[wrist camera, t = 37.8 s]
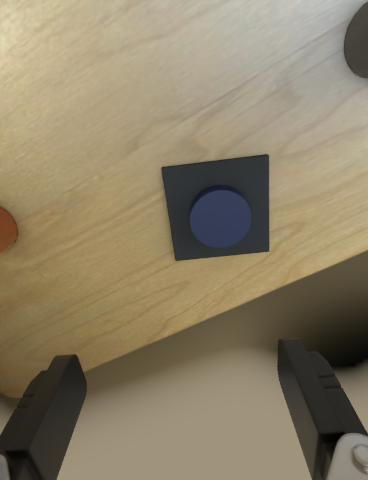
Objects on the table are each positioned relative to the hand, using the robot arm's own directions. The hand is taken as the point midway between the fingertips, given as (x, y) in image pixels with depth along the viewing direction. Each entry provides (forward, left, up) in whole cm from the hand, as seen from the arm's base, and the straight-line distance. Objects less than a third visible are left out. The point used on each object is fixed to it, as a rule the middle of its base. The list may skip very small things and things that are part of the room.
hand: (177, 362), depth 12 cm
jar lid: (-1, -3, -18) cm, 18 cm away
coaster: (-1, -3, -20) cm, 20 cm away
